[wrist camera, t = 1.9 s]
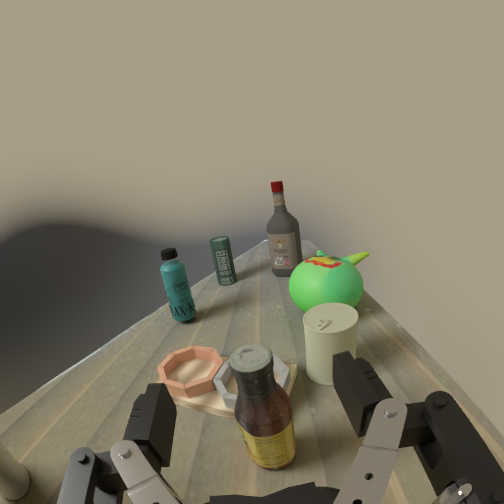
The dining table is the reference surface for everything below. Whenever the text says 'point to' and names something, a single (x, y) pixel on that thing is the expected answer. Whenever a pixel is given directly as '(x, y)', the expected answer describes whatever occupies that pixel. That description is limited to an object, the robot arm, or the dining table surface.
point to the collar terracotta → (184, 356)
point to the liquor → (283, 236)
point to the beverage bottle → (177, 286)
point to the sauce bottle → (262, 408)
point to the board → (211, 399)
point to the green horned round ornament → (327, 281)
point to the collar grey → (226, 373)
